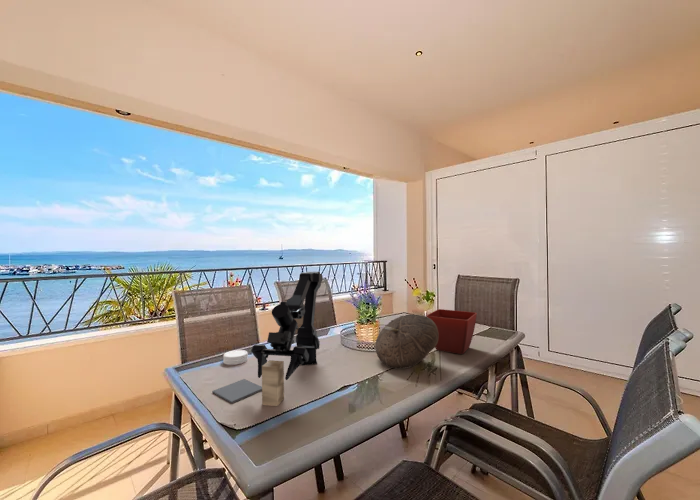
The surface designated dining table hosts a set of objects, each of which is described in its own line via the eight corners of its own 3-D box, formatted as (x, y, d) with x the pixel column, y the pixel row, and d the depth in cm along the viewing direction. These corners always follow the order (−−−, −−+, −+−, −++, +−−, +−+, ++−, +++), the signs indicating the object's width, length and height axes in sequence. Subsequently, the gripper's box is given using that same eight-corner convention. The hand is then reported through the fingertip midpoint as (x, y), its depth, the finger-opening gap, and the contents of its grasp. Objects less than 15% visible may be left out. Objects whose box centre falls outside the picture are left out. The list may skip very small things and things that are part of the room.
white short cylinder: (239, 366, 125) (239, 357, 125) (218, 364, 127) (218, 356, 127) (252, 357, 135) (252, 350, 135) (232, 356, 137) (232, 348, 137)
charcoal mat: (244, 380, 111) (244, 378, 111) (264, 389, 103) (264, 387, 103) (212, 392, 101) (212, 390, 101) (231, 403, 94) (231, 401, 94)
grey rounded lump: (357, 362, 129) (366, 307, 139) (398, 373, 139) (404, 320, 149) (399, 365, 106) (406, 298, 117) (445, 377, 116) (448, 314, 126)
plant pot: (425, 350, 142) (425, 315, 142) (439, 340, 158) (438, 308, 158) (468, 358, 131) (467, 320, 131) (477, 346, 147) (477, 312, 147)
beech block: (269, 397, 98) (269, 360, 98) (283, 398, 97) (283, 361, 97) (262, 404, 93) (261, 366, 93) (277, 406, 92) (277, 367, 92)
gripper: (253, 320, 102) (235, 365, 91) (306, 322, 98) (293, 369, 87) (264, 337, 109) (248, 380, 98) (313, 339, 106) (302, 384, 95)
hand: (272, 378), depth 94 cm, fingers open, 9 cm apart
